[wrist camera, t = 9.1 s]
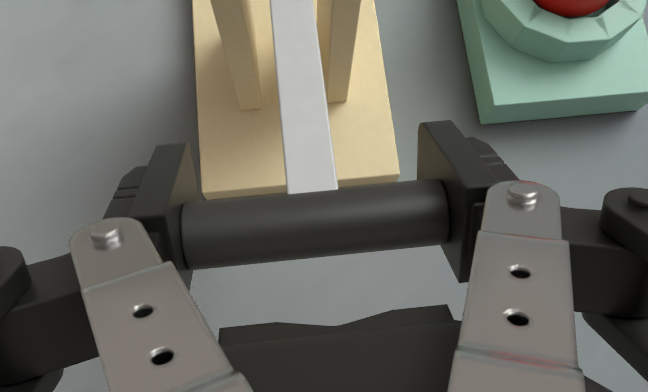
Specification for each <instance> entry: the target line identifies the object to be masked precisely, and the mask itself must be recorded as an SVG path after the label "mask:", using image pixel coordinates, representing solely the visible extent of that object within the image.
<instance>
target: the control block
mask: <svg viewBox="0 0 648 392" xmlns="http://www.w3.org/2000/svg"><path fill="white" fill-rule="evenodd" d="M646 3H647V0H609V1H608V2H607V3H606V5H605V6H603V7H602V8H601V9H599V10H598V11H596V12H594V13H591V14H588V15H585V16H579V17H567V16H561V15H557V14H554V13H551V12H549V11H547V10H545V9H544V8H542V7H540V6H539V5H538V4H536V3H535V2H534V1H533V0H457V5H458V10H459V15H460V21H461V26H462V31H463V36H464V41H465V46H466V51H467V56H468V62H469V67H470V72H471V77H472V82H473V87H474V92H475V97H476V103H477V108H478V113H479V118H480V123H481V124H492V123H503V122H514V121H525V120H536V119H547V118H558V117H569V116H579V115H590V114H601V113H612V112H623V111H634V110H639V109H640V108H641V107H643V106H644V105H645V104H647V103H648V35H647V32H646V28H645V25H644V21H643V18H642V15H643V12H644V9H645V6H646Z"/></svg>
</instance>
